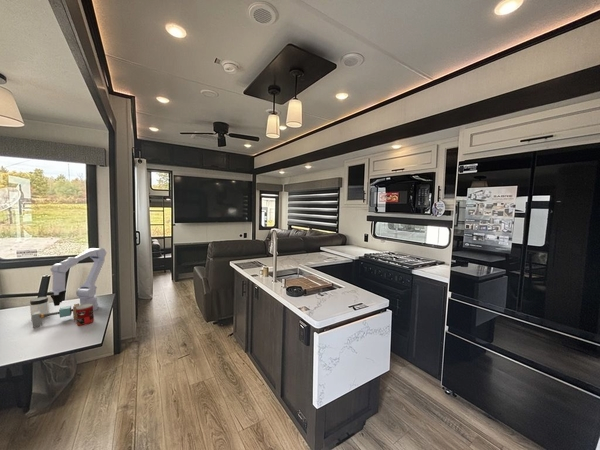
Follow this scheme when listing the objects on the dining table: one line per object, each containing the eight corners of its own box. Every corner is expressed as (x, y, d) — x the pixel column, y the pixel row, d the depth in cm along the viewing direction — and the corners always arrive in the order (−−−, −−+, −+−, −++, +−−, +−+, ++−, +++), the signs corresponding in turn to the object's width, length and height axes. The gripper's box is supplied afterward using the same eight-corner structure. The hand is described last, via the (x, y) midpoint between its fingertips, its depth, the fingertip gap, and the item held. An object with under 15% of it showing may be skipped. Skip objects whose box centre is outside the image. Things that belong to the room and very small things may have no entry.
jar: (27, 319, 158) (25, 301, 157) (38, 314, 166) (37, 296, 165) (42, 318, 159) (41, 300, 158) (53, 313, 167) (52, 296, 166)
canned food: (74, 324, 151) (73, 307, 151) (90, 318, 159) (89, 302, 158) (80, 327, 148) (79, 309, 147) (96, 321, 155) (95, 304, 154)
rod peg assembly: (80, 314, 164) (79, 302, 164) (78, 319, 158) (77, 306, 157) (35, 323, 152) (34, 310, 151) (32, 328, 146) (31, 315, 145)
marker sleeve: (71, 312, 161) (71, 305, 160) (70, 315, 157) (69, 308, 156) (61, 314, 158) (60, 307, 157) (59, 317, 154) (59, 310, 153)
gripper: (52, 281, 158) (51, 302, 158) (47, 285, 146) (46, 308, 146) (67, 280, 162) (66, 300, 162) (63, 284, 151) (62, 306, 150)
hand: (58, 304), depth 154 cm, fingers open, 7 cm apart
